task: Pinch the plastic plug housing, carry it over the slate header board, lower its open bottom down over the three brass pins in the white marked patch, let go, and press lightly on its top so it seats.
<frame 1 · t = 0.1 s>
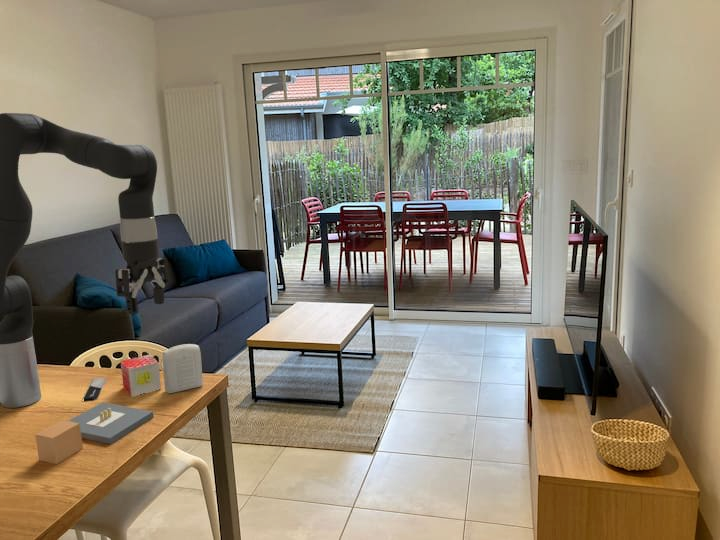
hand: (146, 308, 132), 29 cm above the table, tool pointing down, fingers open, 8 cm apart
photo printer: (184, 389, 161), on the table
header board: (106, 424, 141), on the table
red and white cube: (142, 389, 161), on the table
computer memory module: (95, 391, 161), on the table
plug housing: (61, 454, 128), on the table
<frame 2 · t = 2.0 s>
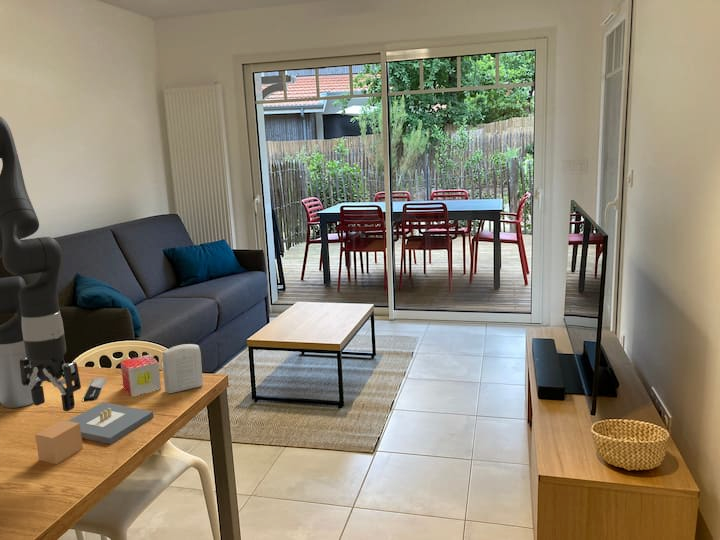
hand: (54, 406, 125), 11 cm above the table, tool pointing down, fingers open, 8 cm apart
nothing on the table moved.
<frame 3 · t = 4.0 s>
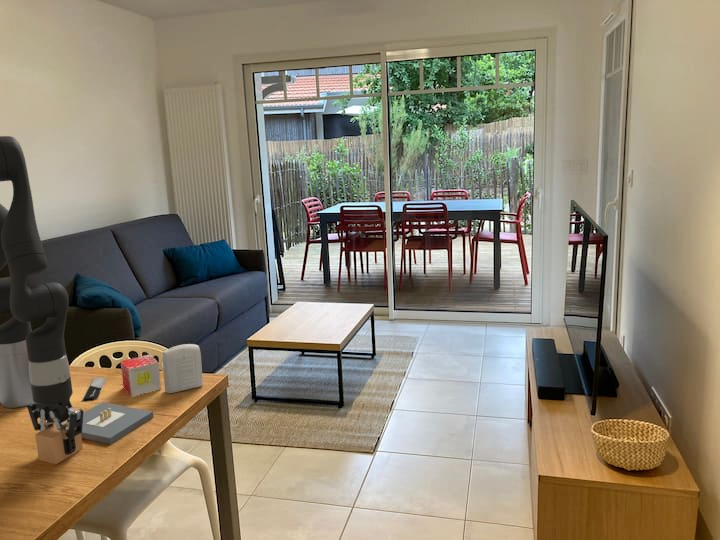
hand: (60, 450, 127), 1 cm above the table, tool pointing down, fingers closed on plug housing, 5 cm apart
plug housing: (61, 454, 128), on the table, touching gripper
everything else where it was.
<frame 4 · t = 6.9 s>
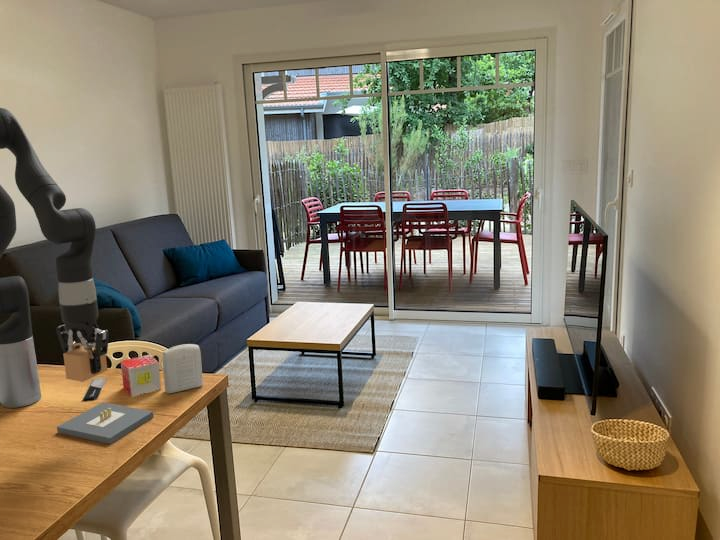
hand: (87, 370, 134), 15 cm above the table, tool pointing down, fingers closed on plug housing, 5 cm apart
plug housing: (87, 374, 134), point 14 cm above the table, touching gripper
everything else where it was.
when the fingers open (3 cm above the table, at t = 9.9 s): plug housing stays where it is, resting on header board.
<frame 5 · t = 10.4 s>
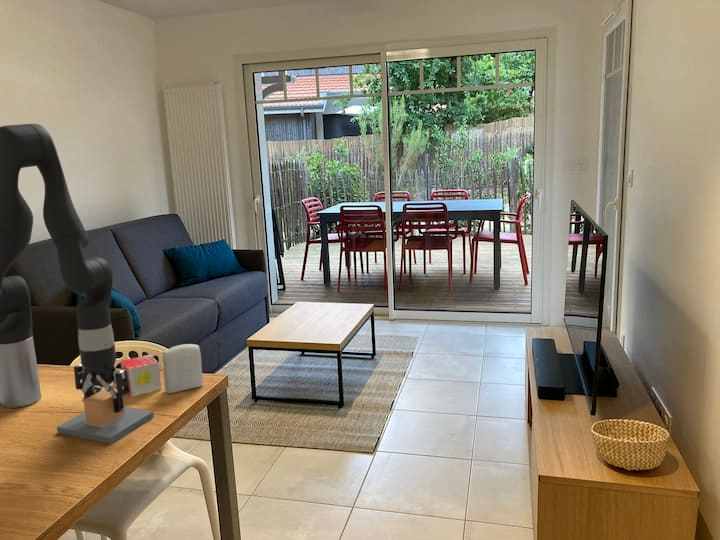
hand: (104, 408, 140), 4 cm above the table, tool pointing down, fingers open, 8 cm apart
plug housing: (106, 418, 140), point 2 cm above the table, touching header board
everything else where it was.
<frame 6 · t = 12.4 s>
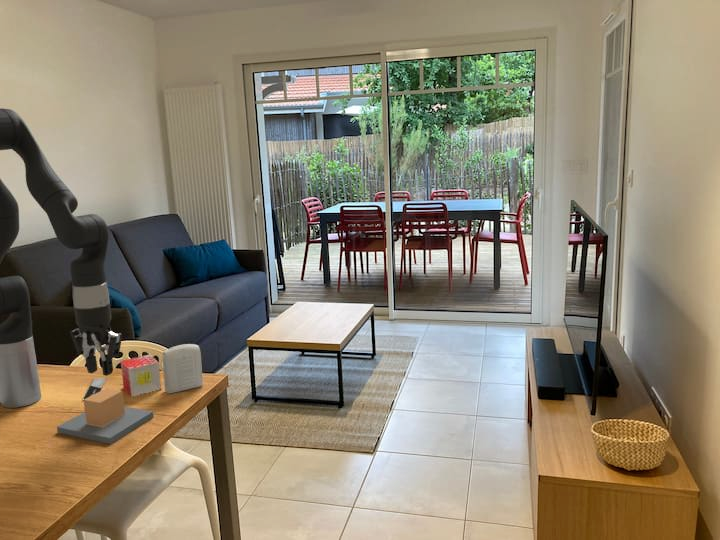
hand: (100, 372, 138), 13 cm above the table, tool pointing down, fingers open, 4 cm apart
nothing on the table moved.
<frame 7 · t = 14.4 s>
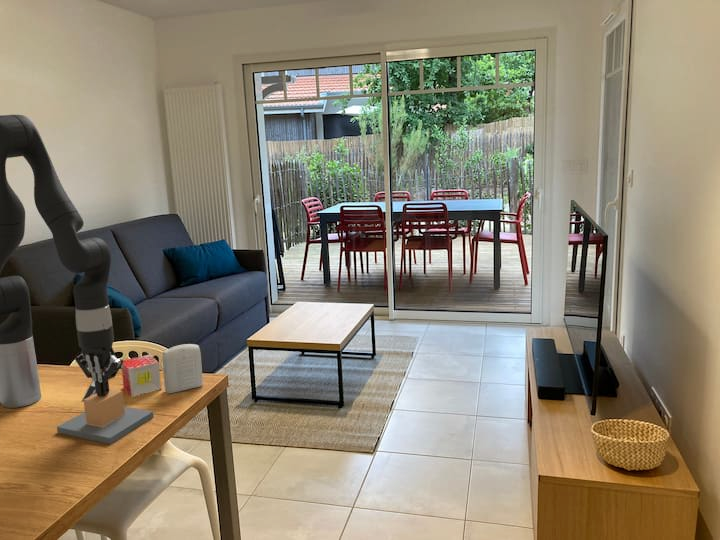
hand: (103, 395, 139), 8 cm above the table, tool pointing down, fingers closed
nothing on the table moved.
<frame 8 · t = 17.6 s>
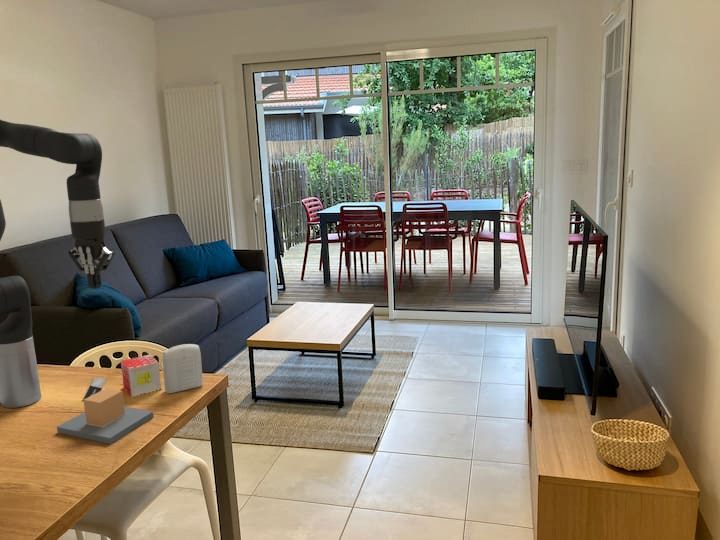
hand: (95, 288, 145), 31 cm above the table, tool pointing down, fingers closed
nothing on the table moved.
at the end: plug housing 0.0 cm off-centre on the header board, point 1.6 cm above the header board's base; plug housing tilted 0°; the gripper is holding nothing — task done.
